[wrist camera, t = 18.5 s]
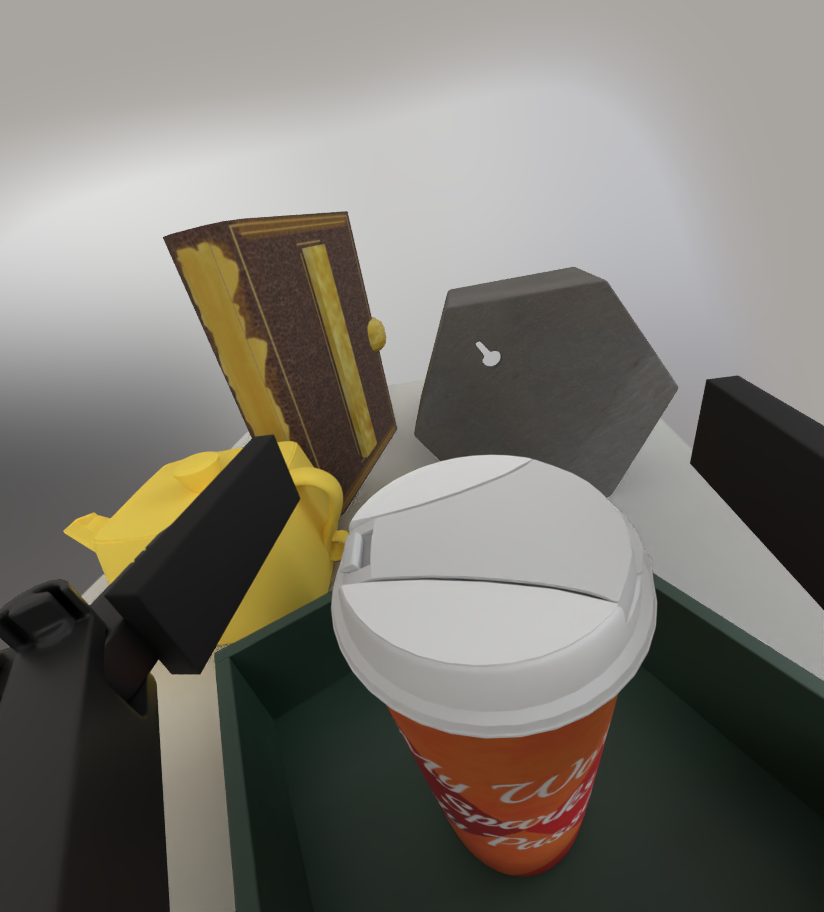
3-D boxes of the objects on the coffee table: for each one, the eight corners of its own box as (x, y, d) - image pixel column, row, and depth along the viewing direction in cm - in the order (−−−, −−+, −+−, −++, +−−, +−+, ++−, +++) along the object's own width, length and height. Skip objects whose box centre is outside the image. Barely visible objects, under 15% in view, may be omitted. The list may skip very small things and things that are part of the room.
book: (347, 525, 36) (238, 216, 24) (271, 521, 39) (138, 242, 27) (410, 418, 54) (367, 208, 42) (355, 420, 57) (299, 224, 45)
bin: (927, 901, 13) (1055, 826, 10) (453, 1738, 7) (352, 2337, 3) (525, 563, 29) (521, 489, 25) (265, 723, 22) (213, 652, 19)
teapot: (84, 671, 28) (-42, 551, 22) (171, 548, 38) (102, 445, 33) (359, 631, 27) (303, 491, 21) (370, 515, 37) (335, 401, 31)
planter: (666, 398, 36) (533, 207, 29) (713, 438, 30) (556, 205, 23) (514, 493, 43) (380, 357, 37) (525, 543, 37) (363, 387, 30)
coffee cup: (423, 935, 14) (276, 727, 7) (414, 699, 21) (337, 469, 14) (661, 911, 14) (790, 656, 6) (569, 677, 21) (578, 426, 13)
